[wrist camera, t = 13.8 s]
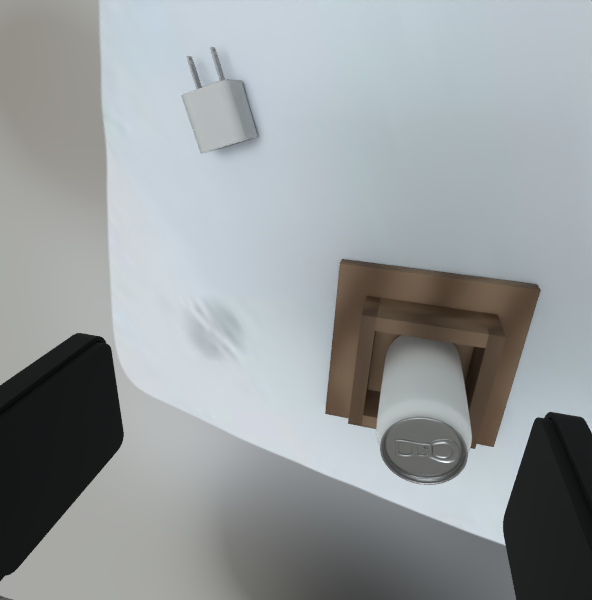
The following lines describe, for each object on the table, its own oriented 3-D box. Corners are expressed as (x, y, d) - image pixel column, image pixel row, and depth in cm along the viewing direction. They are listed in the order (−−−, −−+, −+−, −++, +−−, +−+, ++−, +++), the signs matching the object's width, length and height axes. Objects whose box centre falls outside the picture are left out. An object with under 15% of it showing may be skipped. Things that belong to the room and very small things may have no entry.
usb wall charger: (217, 149, 39) (197, 154, 36) (189, 62, 37) (165, 58, 33) (260, 136, 38) (243, 140, 34) (233, 45, 36) (213, 39, 32)
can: (460, 391, 41) (473, 494, 31) (387, 388, 43) (376, 485, 32) (461, 327, 39) (476, 414, 28) (383, 327, 41) (370, 410, 30)
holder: (536, 284, 37) (553, 310, 33) (491, 438, 44) (500, 478, 39) (342, 259, 40) (332, 280, 36) (327, 406, 47) (317, 440, 42)
